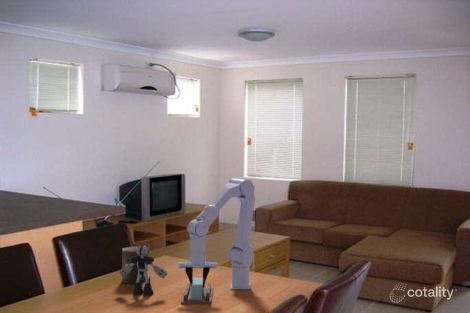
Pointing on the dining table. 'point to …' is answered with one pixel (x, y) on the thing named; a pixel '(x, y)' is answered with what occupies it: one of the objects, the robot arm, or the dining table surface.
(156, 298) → the dining table surface
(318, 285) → the dining table surface
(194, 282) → the tall teal pillar block
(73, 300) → the dining table surface
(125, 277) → the pillar candle
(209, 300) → the cradle
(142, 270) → the robot
